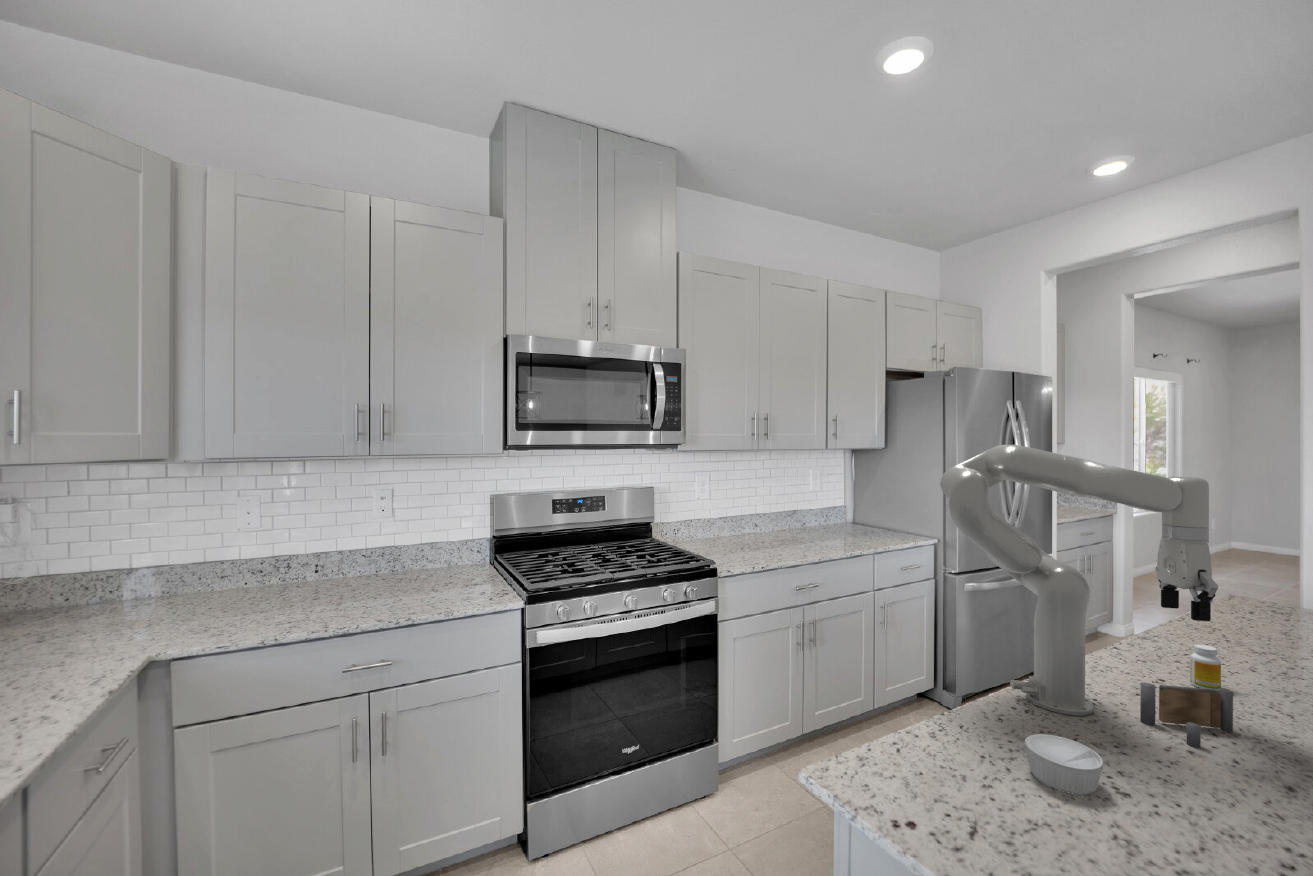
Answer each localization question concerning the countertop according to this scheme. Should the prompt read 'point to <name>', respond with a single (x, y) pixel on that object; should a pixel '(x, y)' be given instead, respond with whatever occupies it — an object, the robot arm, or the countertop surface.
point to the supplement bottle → (1205, 668)
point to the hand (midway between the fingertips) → (1184, 613)
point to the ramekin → (1063, 763)
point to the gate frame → (1149, 714)
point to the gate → (1190, 706)
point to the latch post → (1226, 710)
